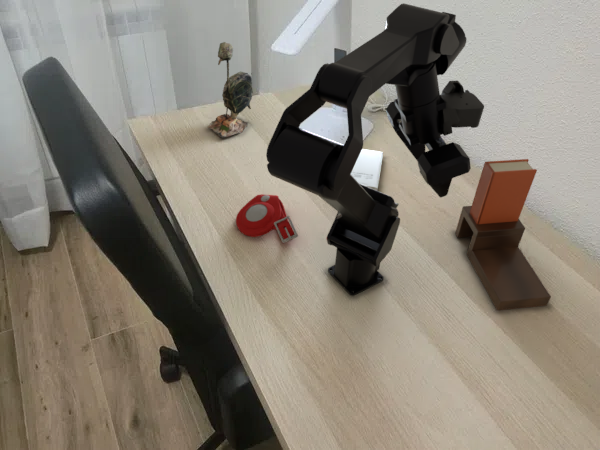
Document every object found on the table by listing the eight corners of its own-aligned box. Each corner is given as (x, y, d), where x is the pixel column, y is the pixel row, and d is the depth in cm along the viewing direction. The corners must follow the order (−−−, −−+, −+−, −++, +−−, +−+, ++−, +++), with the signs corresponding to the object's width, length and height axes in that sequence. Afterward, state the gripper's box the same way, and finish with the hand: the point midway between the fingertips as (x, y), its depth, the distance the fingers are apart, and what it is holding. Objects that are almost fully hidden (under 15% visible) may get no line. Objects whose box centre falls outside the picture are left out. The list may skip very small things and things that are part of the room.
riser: (497, 310, 82) (508, 282, 78) (454, 233, 95) (462, 206, 91) (546, 305, 83) (560, 277, 79) (498, 229, 96) (507, 202, 92)
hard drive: (382, 158, 112) (376, 194, 103) (342, 152, 113) (333, 188, 104) (383, 151, 111) (377, 187, 102) (343, 146, 112) (334, 181, 103)
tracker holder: (225, 229, 92) (246, 185, 98) (234, 245, 95) (254, 202, 101) (291, 235, 87) (309, 188, 93) (298, 252, 91) (315, 206, 96)
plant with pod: (264, 127, 120) (263, 37, 107) (218, 142, 115) (211, 49, 102) (245, 111, 125) (241, 24, 112) (200, 125, 120) (191, 35, 107)
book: (476, 224, 88) (492, 172, 81) (469, 212, 90) (484, 161, 84) (517, 221, 89) (537, 170, 82) (509, 209, 91) (527, 158, 84)
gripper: (505, 108, 69) (509, 197, 79) (447, 46, 82) (457, 129, 93) (420, 139, 69) (435, 223, 80) (377, 72, 83) (394, 151, 94)
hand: (431, 178), depth 87 cm, fingers open, 9 cm apart
